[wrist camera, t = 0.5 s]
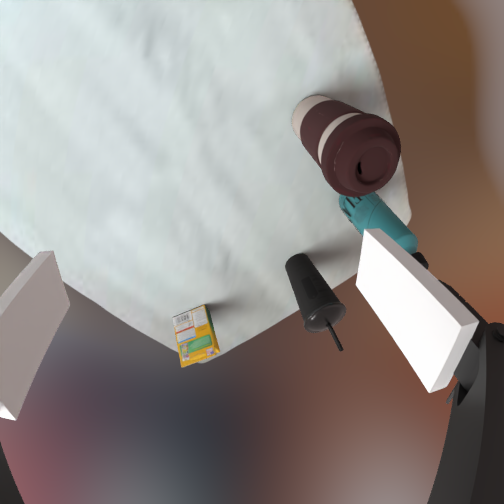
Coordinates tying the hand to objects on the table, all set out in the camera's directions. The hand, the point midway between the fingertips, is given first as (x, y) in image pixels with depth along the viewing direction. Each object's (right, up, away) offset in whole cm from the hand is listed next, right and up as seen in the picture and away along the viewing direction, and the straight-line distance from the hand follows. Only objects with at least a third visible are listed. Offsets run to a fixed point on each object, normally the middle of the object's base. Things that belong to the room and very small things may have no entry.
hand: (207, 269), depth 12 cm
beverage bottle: (+19, +11, +40) cm, 45 cm away
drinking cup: (+10, -1, +48) cm, 49 cm away
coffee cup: (+10, +20, +29) cm, 36 cm away
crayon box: (-10, -12, +50) cm, 52 cm away
